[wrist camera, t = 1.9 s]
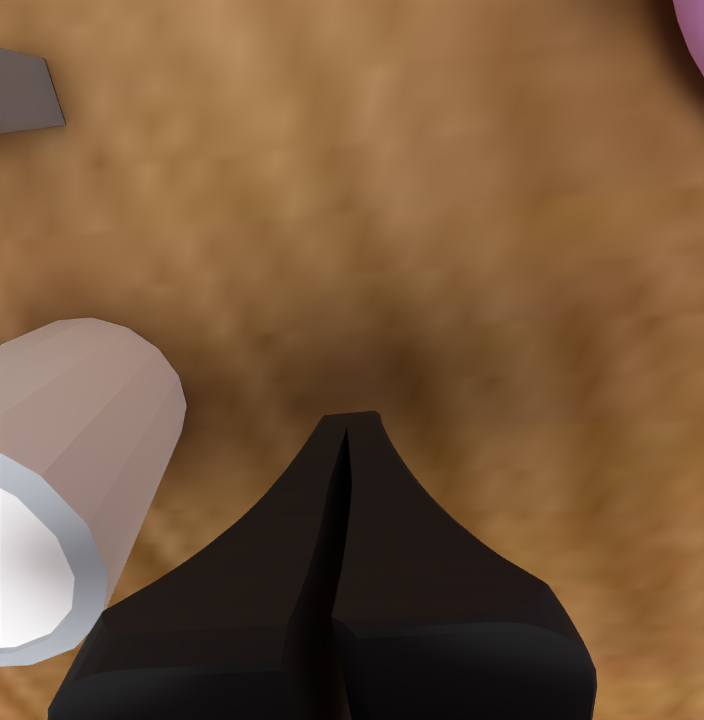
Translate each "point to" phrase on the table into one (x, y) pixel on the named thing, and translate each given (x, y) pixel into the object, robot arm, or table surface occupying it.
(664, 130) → the table surface
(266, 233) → the table surface
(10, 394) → the shot glass
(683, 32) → the teapot
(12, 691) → the table surface
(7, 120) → the l-shaped bracket
